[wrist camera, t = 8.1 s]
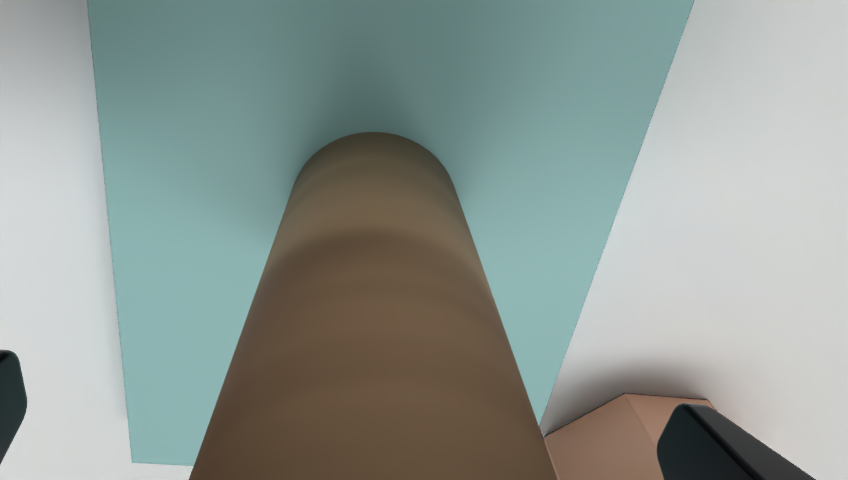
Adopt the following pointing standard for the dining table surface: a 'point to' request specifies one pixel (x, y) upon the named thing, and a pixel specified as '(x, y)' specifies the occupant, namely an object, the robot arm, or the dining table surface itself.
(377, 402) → the dowel
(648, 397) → the pink octagonal bowl
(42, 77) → the dining table surface
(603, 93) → the board
